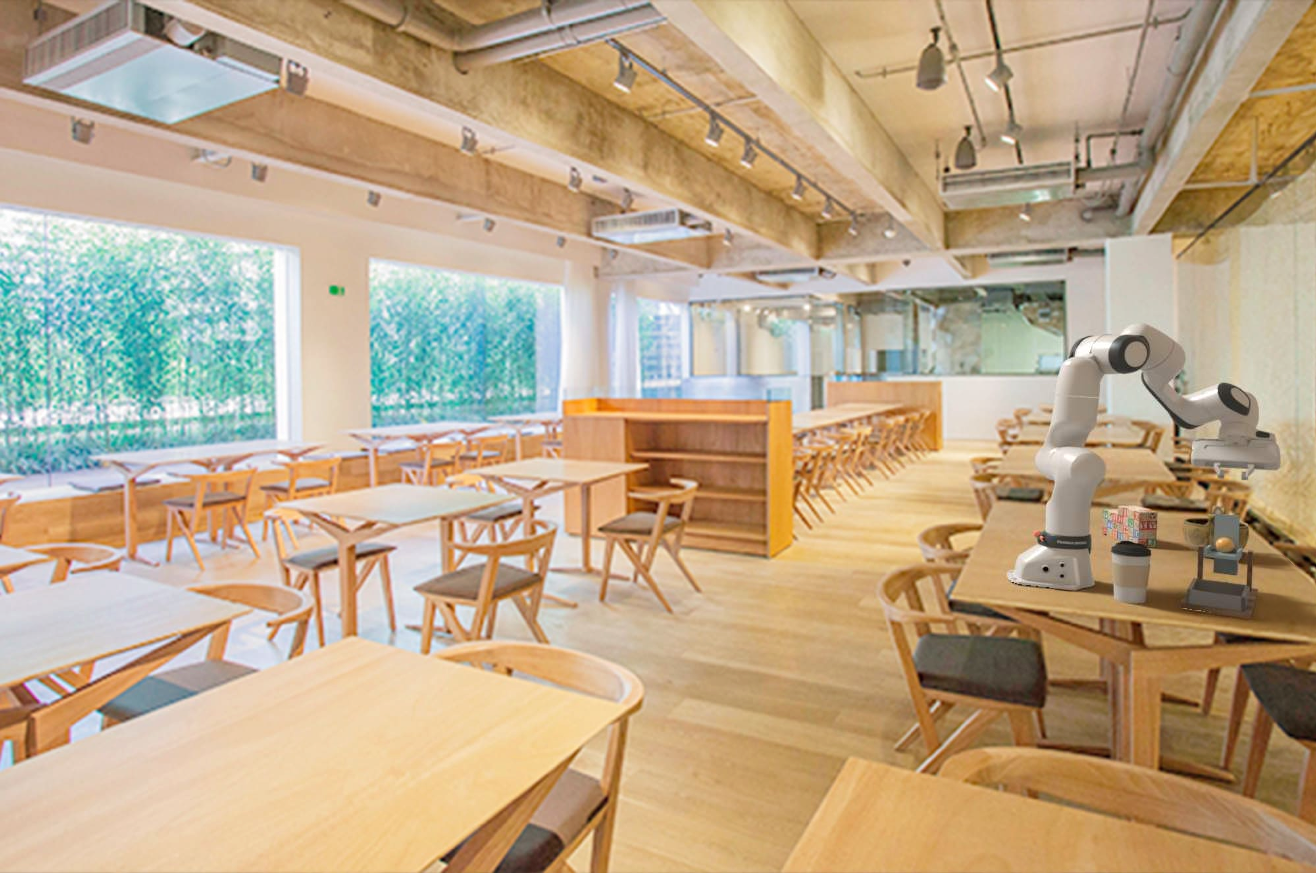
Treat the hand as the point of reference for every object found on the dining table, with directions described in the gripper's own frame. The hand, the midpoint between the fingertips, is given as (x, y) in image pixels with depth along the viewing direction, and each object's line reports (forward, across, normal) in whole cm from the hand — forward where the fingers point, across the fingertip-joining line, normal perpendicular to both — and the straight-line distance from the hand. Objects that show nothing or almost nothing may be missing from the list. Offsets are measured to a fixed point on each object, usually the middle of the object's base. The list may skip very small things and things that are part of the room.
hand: (1232, 478), depth 212 cm
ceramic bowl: (-3, -6, +45) cm, 45 cm away
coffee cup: (+46, -18, -4) cm, 49 cm away
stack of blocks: (-10, -32, +52) cm, 61 cm away
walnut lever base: (+37, 0, +4) cm, 38 cm away
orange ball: (+22, 0, +1) cm, 22 cm away
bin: (+40, 0, -1) cm, 40 cm away
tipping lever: (+29, 0, +5) cm, 29 cm away
